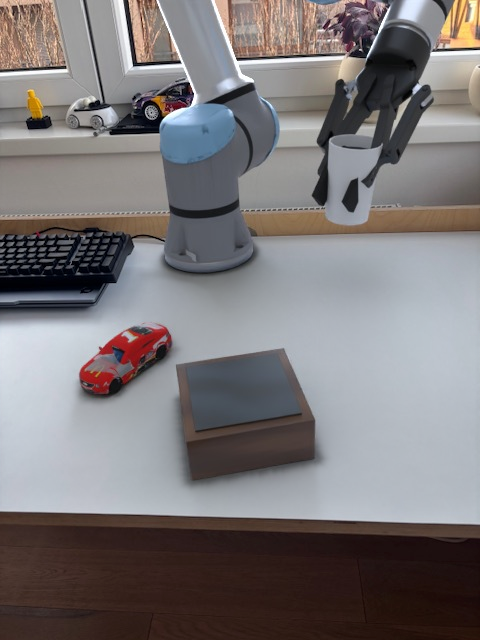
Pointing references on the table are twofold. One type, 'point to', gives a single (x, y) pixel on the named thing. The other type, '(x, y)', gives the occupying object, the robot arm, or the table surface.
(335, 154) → the white coffee cup
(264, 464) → the stand
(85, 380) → the race car
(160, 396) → the table surface
